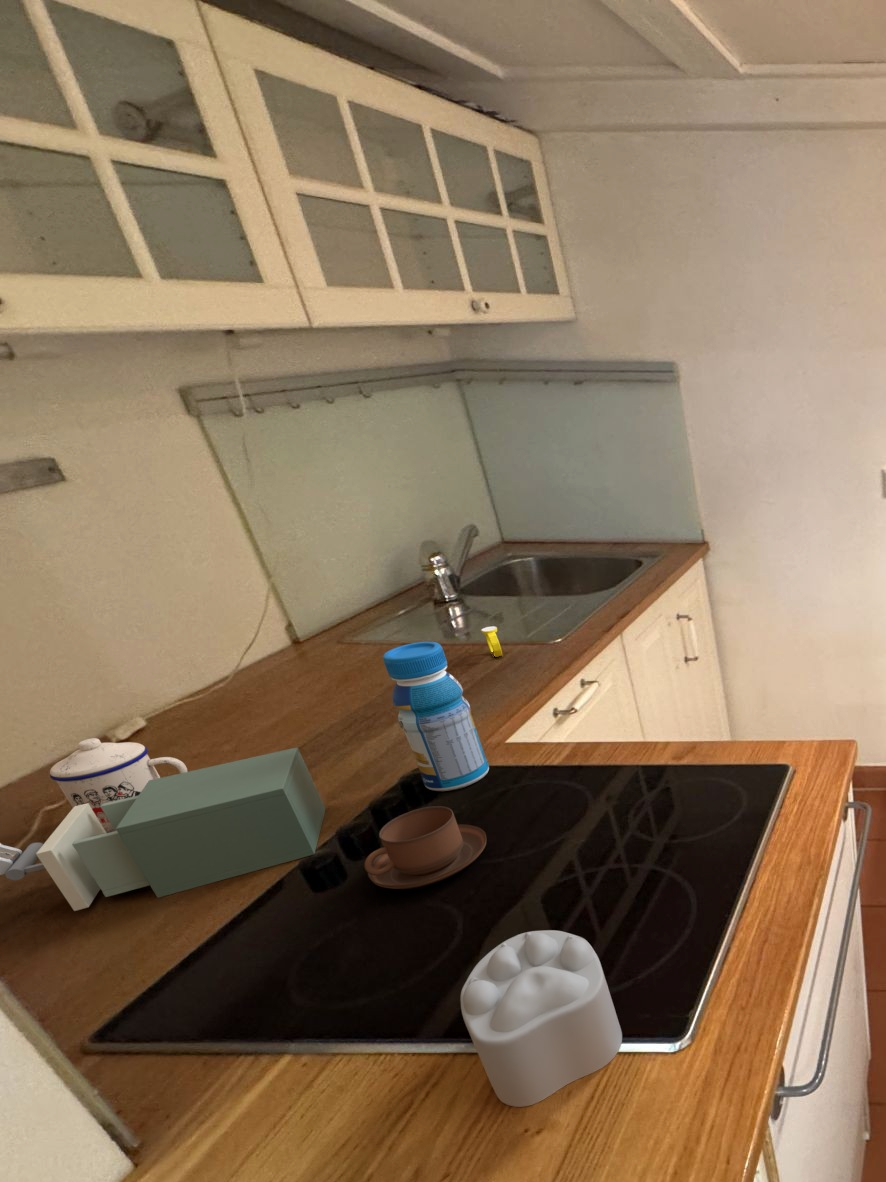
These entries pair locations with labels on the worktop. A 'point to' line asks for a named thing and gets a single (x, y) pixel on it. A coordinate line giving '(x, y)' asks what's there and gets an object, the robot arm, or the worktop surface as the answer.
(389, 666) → the beverage bottle
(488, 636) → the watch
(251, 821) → the cabinet
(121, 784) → the teacup with lid
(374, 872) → the cup and saucer
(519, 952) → the lumpy-topped squat cylinder
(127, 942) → the worktop surface
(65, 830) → the drawer
